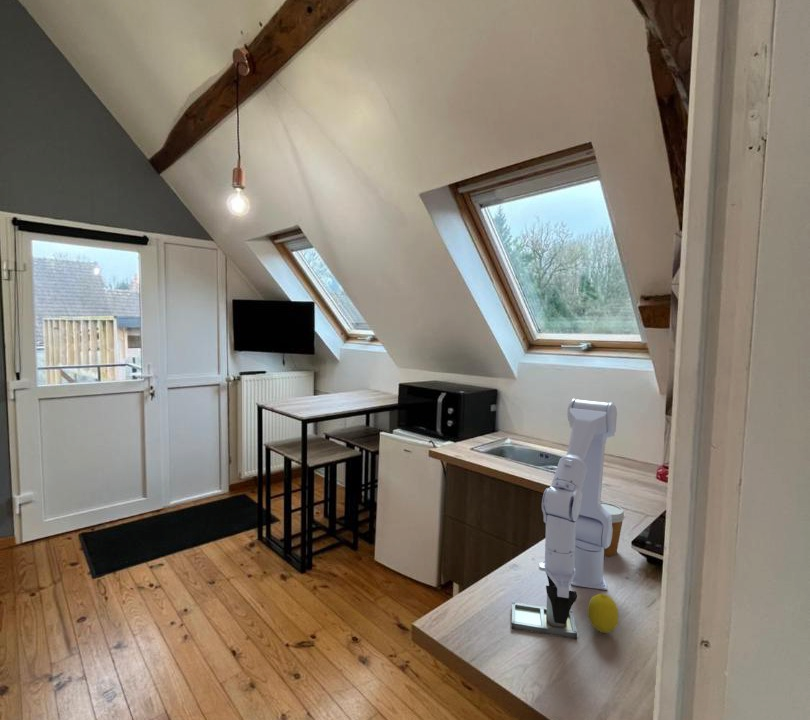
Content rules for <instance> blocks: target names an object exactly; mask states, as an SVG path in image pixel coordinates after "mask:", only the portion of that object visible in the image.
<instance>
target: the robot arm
mask: <svg viewBox="0 0 810 720" xmlns="http://www.w3.org/2000/svg"><path fill="white" fill-rule="evenodd" d="M566 415H567V420H568V423H569V427H570V429H571V434H570V439H569V443H568V447H567V451H566V452H567V453H566V455H564V456H562V457H560V458H559V461H558V463H557V466H556V470H555V473H554V476H553V479H552V482H551V485H550V487H547V488H545V490H544V492H543V495H542V499H541V511H542V515H543V523H545V543H544V544H545V545H544V546H545V547H544V561H543V562H542V561H541V562H539V563H538V569H539V570H540V571H543V572H545V574H546V577H547V581H548V585H545V590H546V596H547V595H548V597H549V599H550V601H551V604H552V610H553V617H554V621H555V623H560V624H566V622H567V619H568V615H569V611H571V608H572V607H573V605H574V604H575V602H577V598H578V594H577V591H575V590H570V586H575V587H581V588H582V587H583V588H587V589H589V588H590V589H598V590H603V591H607V590H608V585H607V583H606V581H605V577H604V563H605V562H604V557H605V555H604V548H605V549H606V548H608V547H609V546H610V544H611V540H612V532H613V528H612V517H611V515H610V513H609V512H608V511H606V510H605V509H604V508H603V507H602V506H601V504H600V502H602V501H601V498H602V487H603V477H604V464H605V463H604V462H605V450H606V449H605V448H606V443H607V440H608V438H611V437H615V433H616V431H617V429H616V428H617V417H618V411H617V406H616V404H615V403H614V402H606V401H605V402H604V401H594V400H583V399H577V398H572V400H570V402H569V403H568V407H567V414H566ZM554 586H556V587H554Z"/></svg>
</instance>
